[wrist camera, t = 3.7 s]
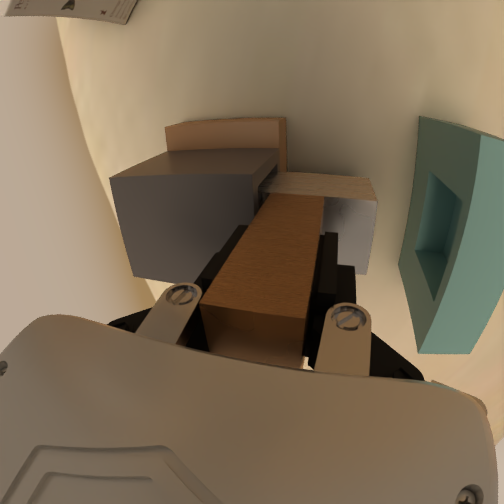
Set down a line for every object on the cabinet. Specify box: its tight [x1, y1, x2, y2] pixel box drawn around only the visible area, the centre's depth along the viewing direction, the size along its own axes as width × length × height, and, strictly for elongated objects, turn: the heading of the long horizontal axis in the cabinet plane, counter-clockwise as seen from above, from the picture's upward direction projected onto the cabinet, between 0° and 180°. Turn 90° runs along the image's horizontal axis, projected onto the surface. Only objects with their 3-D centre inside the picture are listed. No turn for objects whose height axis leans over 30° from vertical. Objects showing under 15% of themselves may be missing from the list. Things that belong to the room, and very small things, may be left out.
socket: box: [398, 116, 504, 354], centre depth 14 cm, size 12×4×10 cm, turn 3°
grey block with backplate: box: [109, 118, 287, 284], centre depth 18 cm, size 10×8×9 cm
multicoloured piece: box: [199, 171, 378, 369], centre depth 13 cm, size 4×14×12 cm, turn 93°
